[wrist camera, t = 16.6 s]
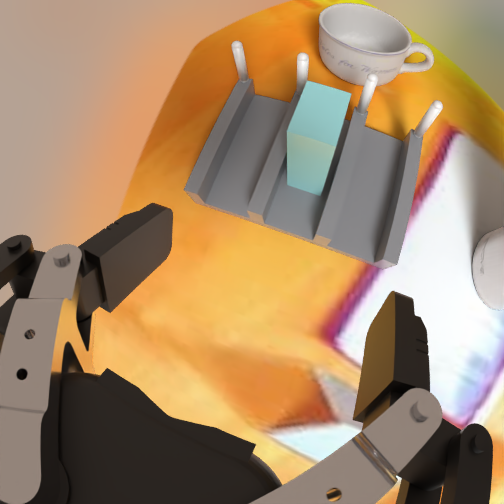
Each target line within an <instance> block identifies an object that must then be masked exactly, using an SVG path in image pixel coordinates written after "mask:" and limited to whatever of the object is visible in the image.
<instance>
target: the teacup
mask: <svg viewBox="0 0 504 504" xmlns="http://www.w3.org/2000/svg"><path fill="white" fill-rule="evenodd" d="M319 24H320V28H319V52H320V56H321V59H322V61H323V63H324V64H325V66H326V67H327V68H328V69H329V70H330V71H331V72H332V73H333V74H335V75H336V76H338V77H339V78H341V79H343V80H345V81H347V82H349V83H352V84H356V85H361V86H364V84H365V81H366V78H367V75H368V74H369V73H374V74H376V75H377V77H378V82H377V84H376V86H380V85H384V84H387V83H389V82H390V81H392V80H393V79H394V78H395V77H396V76H397V74H402V73H404V72H422V71H426V70H428V69H430V68H431V67H432V65H433V63H434V56H433V53H432V51H431V50H430V48H429V47H427V46H426V45H424V44H421V43H411V42H412V39H411V36H410V33H409V32H408V30H407V29H406V27H405V26H404V25H403V24H402V23H401V22H400V21H398V20H397V19H396V18H394V17H393V16H391V15H389V14H388V13H386V12H383V11H381V10H379V9H376V8H373V7H370V6H366V5H361V4H353V3H342V4H336V5H332V6H329V7H328V8H326V9H324V10H323V11H322V12H321V13H320V16H319ZM414 52H420V53H423V54H424V55H425V56H426V60H425V61H423V62H419V63H403V62H404V60H405V58H406V57H408V56H409V55H410V54H412V53H414Z"/></svg>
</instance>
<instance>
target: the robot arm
mask: <svg viewBox="0 0 504 504" xmlns="http://www.w3.org/2000/svg"><path fill="white" fill-rule="evenodd" d="M172 225H173V212H172V210H171V209H170V208H167V207H164V206H161V205H158V204H155V203H151V204H149V205H147V206H146V207H144V208H143V209H141V210H140V211H136V212H133V213H130V214H127V215H124V216H123V217H121V218H120V219H118V220H116V221H115V222H114V223H112V224H110V225H109V226H107V228H106V229H103V230H101V231H100V232H99V233H97V234H96V235H94V236H93V237H91V238H90V239H88V240H87V241H86V242H84V243H83V244H81V245H80V246H78V247H76V246H74V245H70V244H69V245H68V244H65V245H59V246H56V247H53V248H52V249H50V250H49V251H47V252H46V253H45V252H40V251H36V250H34V248H33V245H32V241H31V238H30V237H28V236H26V235H17V236H13V237H11V238H9V239H7V240H6V241H4V242H3V243H1V244H0V289H1V288H2V287H3V286H4V285H6V284H7V283H8V282H9V283H10V285H11V288H12V290H13V293H14V295H13V296H12V297H11V298H10V299H9V300H7V301H6V302H5V303H4V304H3V305H2V306H1V307H0V504H375V503H376V502H378V501H379V500H380V499H381V498H382V497H383V496H384V495H385V494H386V493H387V492H388V491H389V490H390V489H391V488H392V487H393V486H394V485H395V484H396V482H397V480H398V479H397V478H396V475H397V476H399V477H401V478H402V480H401V485H400V489H399V493H398V497H397V501H396V504H439V502H440V496H441V491H442V486H444V487H443V493H442V498H441V503H440V504H489V500H490V491H491V479H492V461H493V444H492V439H491V436H490V434H489V432H488V431H487V430H486V429H485V428H484V427H483V426H482V425H480V424H475V423H474V424H470V425H468V426H467V427H465V428H464V429H462V430H460V429H459V428H457V427H456V426H454V425H452V424H451V423H449V422H448V421H446V420H445V419H443V418H442V409H441V406H440V404H439V402H438V400H437V399H436V397H435V396H434V395H433V394H432V393H430V372H429V355H428V345H427V343H428V340H427V330H426V328H425V326H424V324H423V322H422V319H421V317H418V316H415V314H414V302H413V299H412V298H411V297H408V296H405V295H403V294H400V293H398V292H395V291H392V292H391V293H390V294H389V295H388V297H387V299H386V300H385V302H384V304H383V305H382V307H381V309H380V310H379V312H378V314H377V315H376V317H375V318H374V320H373V322H372V323H371V325H370V328H369V330H368V333H367V336H366V342H365V350H364V357H363V364H362V371H361V377H360V383H359V389H358V394H357V400H356V405H355V410H354V415H353V420H355V421H358V422H362V423H363V428H362V431H361V432H360V433H359V434H358V435H356V436H355V437H354V438H352V439H351V440H350V441H348V442H347V443H346V444H345V445H343V446H342V447H340V448H339V449H338V450H336V451H335V452H334V453H332V454H331V455H329V456H328V457H326V458H325V459H324V460H322V461H321V462H319V463H318V464H316V465H315V466H313V467H312V468H310V469H309V470H307V471H305V472H304V473H302V474H301V475H299V476H297V477H296V478H294V479H293V480H291V481H289V482H287V483H286V484H284V485H282V484H281V482H280V480H279V479H278V477H277V476H276V474H275V473H274V472H273V471H272V470H271V468H270V467H269V466H268V465H267V464H266V463H264V462H263V461H262V460H261V459H260V458H259V457H257V456H256V455H254V454H253V453H252V452H253V450H254V448H255V446H256V444H254V443H251V442H248V441H246V440H243V439H241V438H238V437H236V436H234V435H231V434H229V433H226V432H224V431H222V430H220V429H217V428H215V427H210V426H205V425H201V424H196V423H192V422H188V421H184V420H180V419H176V418H172V417H170V416H168V415H167V414H166V413H165V412H163V411H162V410H161V409H160V408H159V407H158V406H157V405H156V404H155V403H154V402H153V401H152V400H151V399H150V398H149V397H148V396H146V395H145V394H144V393H143V392H142V391H141V390H140V389H139V388H138V387H137V386H135V385H133V384H132V383H130V382H128V381H127V380H125V379H124V378H122V377H120V376H119V375H117V374H116V373H114V372H113V371H111V370H110V369H108V368H107V369H106V370H105V371H104V372H103V373H102V374H101V376H100V375H96V374H95V370H94V366H93V344H94V330H95V319H96V314H95V310H96V309H97V308H98V307H99V306H100V307H101V308H103V309H105V310H106V311H108V312H110V313H111V312H112V311H113V310H114V309H115V308H116V307H117V306H118V305H119V304H120V303H121V302H122V301H123V300H124V299H125V298H126V297H127V296H128V295H129V294H130V293H131V292H132V291H133V290H134V289H135V288H136V287H137V286H138V285H139V284H140V283H141V282H142V281H144V280H145V279H146V278H147V277H148V276H149V275H150V274H151V273H152V272H153V271H154V270H155V269H156V268H157V267H158V266H159V265H161V264H162V263H163V262H164V261H165V260H166V259H167V257H168V255H169V253H170V251H171V247H172ZM472 269H473V279H474V284H475V287H476V291H477V293H478V295H479V297H480V298H481V300H482V301H483V302H484V304H486V305H487V306H488V307H489V308H492V309H494V310H504V226H503V227H501V228H499V229H496V230H494V231H491V232H489V233H487V234H485V235H484V236H483V237H482V238H481V240H480V241H479V242H478V244H477V247H476V249H475V252H474V256H473V264H472Z"/></svg>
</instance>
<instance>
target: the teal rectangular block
mask: <svg viewBox="0 0 504 504" xmlns="http://www.w3.org/2000/svg"><path fill="white" fill-rule="evenodd" d="M350 97H351V93H348V92H345V91H342V90H339V89H335V88H332V87H329V86H325V85H322V84H318V83H315V82H311V81H307V82H306V85H305V87H304V90H303V92H302V95H301V97H300V100H299V102H298V105H297V107H296V110H295V112H294V115H293V117H292V120H291V122H290V124H289V127H288V129H287V185H289V186H292V187H295V188H298V189H301V190H304V191H307V192H310V193H313V194H316V195H318V196H321V193H322V190H323V187H324V184H325V181H326V178H327V175H328V172H329V168H330V165H331V162H332V159H333V156H334V153H335V149H336V146H337V143H338V139H339V136H340V132H341V129H342V126H343V122H344V119H345V115H346V112H347V108H348V105H349V101H350Z"/></svg>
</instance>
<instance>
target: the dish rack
mask: <svg viewBox="0 0 504 504" xmlns="http://www.w3.org/2000/svg"><path fill="white" fill-rule="evenodd" d="M231 46H232V50H233V55H234V59H235V63H236V67H237V72H238V76H239V80H238V82H237V84H236V85H235V87H234V89H233V91H232V93H231V95H230V96H229V98H228V100H227V102H226V104H225V106H224V108H223V110H222V112H221V113H220V115H219V117H218V119H217V121H216V123H215V125H214V127H213V129H212V131H211V133H210V135H209V137H208V139H207V141H206V143H205V145H204V147H203V149H202V151H201V154H200V156H199V158H198V160H197V162H196V164H195V166H194V168H193V171H192V173H191V175H190V177H189V179H188V182H187V184H186V186H185V188H184V191H185V192H186V193H187V194H188V195H189V196H190V197H191V198H192V199H193V201H194V202H195V203H197V204H200V205H203V206H206V207H209V208H212V209H215V210H218V211H221V212H224V213H227V214H230V215H233V216H236V217H239V218H242V219H245V220H248V221H251V222H253V223H256V224H259V225H262V226H265V227H268V228H271V229H274V230H277V231H279V232H282V233H285V234H288V235H291V236H294V237H296V238H299V239H302V240H305V241H308V242H310V243H313V244H316V245H319V246H321V247H324V248H327V249H330V250H332V251H335V252H338V253H341V254H343V255H346V256H349V257H351V258H354V259H357V260H359V261H362V262H365V263H367V264H370V265H373V266H375V267H378V268H381V269H386V268H389V267H392V266H395V265H397V263H398V260H399V256H400V252H401V248H402V245H403V241H404V237H405V232H406V228H407V224H408V220H409V215H410V211H411V206H412V201H413V196H414V191H415V185H416V180H417V174H418V168H419V162H420V155H421V148H422V140H423V135H424V133H425V132H426V131H427V129H428V128H429V127H430V125H431V124H432V122H433V121H434V120H435V118H436V117H437V116H438V114H439V113H440V111H441V110H442V108H443V105H442V103H441V102H440V101H438V100H435V101H434V102H433V103H432V104H431V106H430V107H429V109H428V111H427V112H426V114H425V115H424V117H423V118H422V120H421V121H420V122H419V124H418V125H417V127H416V128H415V130H413V129H411V130H410V132H409V133H408V135H407V136H406V138H405V139H404V140H403V141H401V140H398V139H396V138H393V137H391V136H388V135H386V134H383V133H381V132H378V131H376V130H373V129H370V128H368V127H365V122H366V118H367V114H368V111H367V109H368V106H369V103H370V101H371V98H372V95H373V93H374V90H375V87H376V84H377V82H378V77H377V75H376V74H374V73H369V74H368V75H367V78H366V81H365V84H364V87H363V90H362V94H361V97H360V100H359V103H358V106H357V107H355V108H354V111H353V115H352V118H351V121H348V120H345V119H344V122H343V126H342V129H341V132H340V136H339V139H338V143H337V146H336V149H335V153H334V156H333V159H332V162H331V165H330V168H329V172H328V175H327V178H326V181H325V184H324V187H323V190H322V193H321V196H318V195H316V194H313V193H310V192H307V191H304V190H301V189H298V188H295V187H292V186H289V185H287V129H288V127H289V124H290V122H291V120H292V117H293V115H294V112H295V110H296V107H297V105H298V102H299V100H300V97H301V95H302V92H303V90H304V87H305V85H306V82H307V79H308V63H309V57H308V55H307V54H306V53H299V54H298V56H297V89H296V91H295V93H294V96H293V98H292V101H291V103H289V102H285V101H281V100H277V99H273V98H269V97H264V96H260V95H255V91H254V85H253V79H249V76H248V71H247V66H246V61H245V56H244V50H243V45H242V43H241V42H240V41H234V42H233V43H232V45H231Z"/></svg>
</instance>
